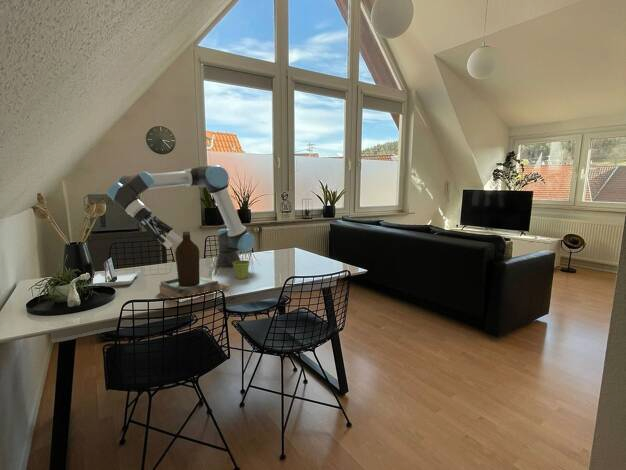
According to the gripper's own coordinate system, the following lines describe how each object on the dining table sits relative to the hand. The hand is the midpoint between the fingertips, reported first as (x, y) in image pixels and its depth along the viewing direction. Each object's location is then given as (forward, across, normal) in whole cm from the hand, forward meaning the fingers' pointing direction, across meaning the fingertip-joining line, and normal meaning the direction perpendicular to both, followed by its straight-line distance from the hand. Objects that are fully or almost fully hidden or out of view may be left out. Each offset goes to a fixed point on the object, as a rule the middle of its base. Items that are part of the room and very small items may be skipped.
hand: (175, 244), depth 159 cm
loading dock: (+22, -2, -12) cm, 25 cm away
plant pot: (+36, -24, +2) cm, 43 cm away
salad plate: (-10, -22, -45) cm, 51 cm away
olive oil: (+18, -1, -10) cm, 20 cm away
